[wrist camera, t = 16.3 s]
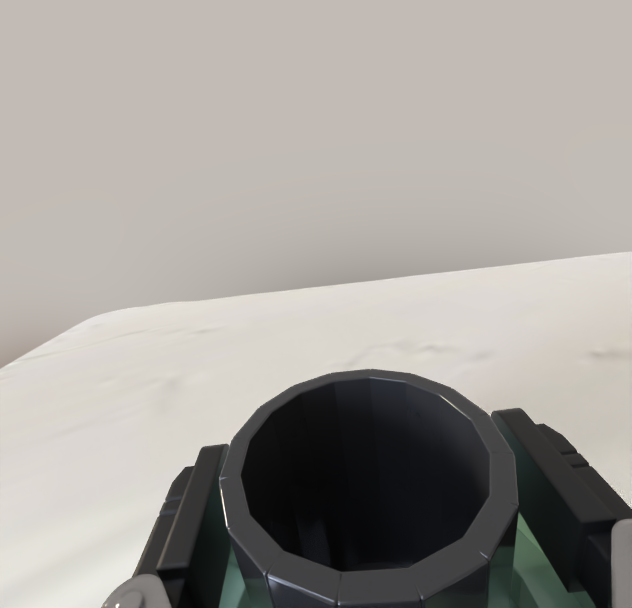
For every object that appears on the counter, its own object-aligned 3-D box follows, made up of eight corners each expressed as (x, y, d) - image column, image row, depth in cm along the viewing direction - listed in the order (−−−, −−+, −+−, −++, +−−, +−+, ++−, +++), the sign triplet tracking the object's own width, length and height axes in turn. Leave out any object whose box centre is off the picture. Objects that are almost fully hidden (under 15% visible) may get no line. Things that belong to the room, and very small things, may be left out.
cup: (410, 533, 15) (399, 348, 12) (550, 737, 10) (602, 495, 6) (266, 607, 14) (207, 413, 10) (335, 913, 8) (252, 699, 5)
